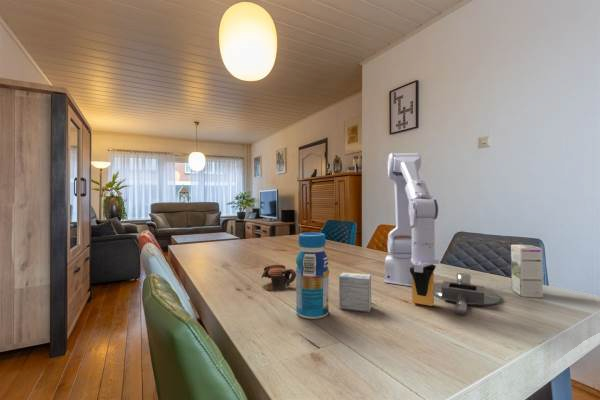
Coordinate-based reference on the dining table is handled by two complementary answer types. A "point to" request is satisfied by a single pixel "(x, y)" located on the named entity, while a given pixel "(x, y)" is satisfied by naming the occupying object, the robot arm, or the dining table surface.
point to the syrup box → (527, 270)
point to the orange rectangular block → (429, 296)
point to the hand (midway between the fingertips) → (422, 293)
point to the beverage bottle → (312, 277)
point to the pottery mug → (278, 277)
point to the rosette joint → (465, 293)
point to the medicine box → (355, 291)
